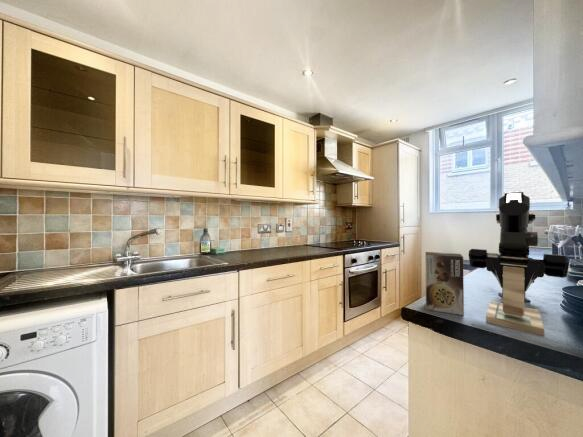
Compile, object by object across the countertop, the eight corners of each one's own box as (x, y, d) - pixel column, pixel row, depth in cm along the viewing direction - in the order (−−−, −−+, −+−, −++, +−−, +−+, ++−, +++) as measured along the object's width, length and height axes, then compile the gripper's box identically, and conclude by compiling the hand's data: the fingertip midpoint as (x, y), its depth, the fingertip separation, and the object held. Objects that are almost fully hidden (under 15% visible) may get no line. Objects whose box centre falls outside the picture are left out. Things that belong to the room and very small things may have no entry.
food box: (460, 308, 68) (461, 253, 68) (464, 316, 63) (464, 256, 63) (425, 302, 73) (425, 251, 73) (425, 309, 67) (425, 253, 67)
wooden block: (503, 307, 62) (503, 265, 62) (523, 311, 59) (523, 267, 59) (502, 312, 57) (502, 268, 58) (524, 317, 55) (524, 270, 55)
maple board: (490, 306, 71) (490, 300, 71) (538, 315, 64) (538, 309, 64) (486, 321, 59) (486, 315, 59) (544, 335, 52) (544, 328, 52)
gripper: (469, 220, 68) (463, 263, 60) (567, 221, 55) (576, 275, 47) (472, 245, 74) (467, 287, 66) (562, 252, 61) (570, 304, 53)
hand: (513, 288), depth 58 cm, fingers closed on wooden block, 4 cm apart
